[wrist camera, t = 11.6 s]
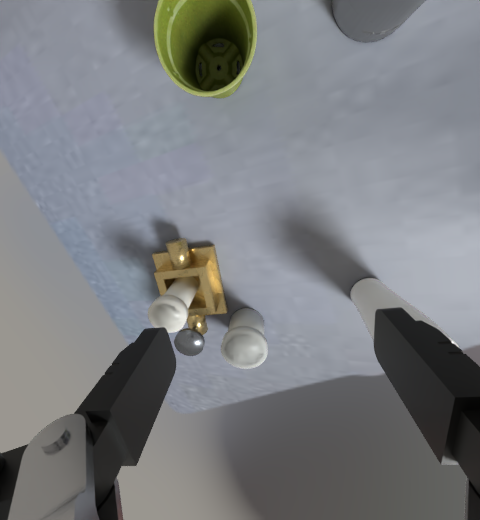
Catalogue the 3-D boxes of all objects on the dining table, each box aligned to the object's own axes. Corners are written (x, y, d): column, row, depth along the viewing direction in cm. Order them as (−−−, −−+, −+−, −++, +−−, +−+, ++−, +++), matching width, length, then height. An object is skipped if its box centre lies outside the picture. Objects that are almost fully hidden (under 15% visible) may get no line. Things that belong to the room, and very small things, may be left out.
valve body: (151, 240, 38) (126, 257, 31) (211, 232, 37) (200, 247, 30) (176, 327, 44) (160, 357, 37) (230, 322, 43) (224, 353, 36)
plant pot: (258, 112, 31) (257, 92, 23) (186, 116, 32) (161, 99, 24) (257, 18, 28) (256, -44, 20) (177, 25, 28) (144, -31, 20)
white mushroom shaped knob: (168, 273, 39) (143, 302, 31) (197, 269, 39) (180, 298, 30) (175, 299, 41) (154, 334, 33) (204, 296, 40) (189, 331, 32)
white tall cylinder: (344, 311, 40) (389, 387, 26) (344, 275, 38) (392, 337, 24) (387, 307, 39) (457, 384, 25) (389, 269, 37) (467, 331, 23)
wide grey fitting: (223, 309, 42) (215, 334, 36) (262, 302, 41) (261, 327, 34) (233, 341, 44) (227, 371, 38) (270, 336, 43) (271, 365, 37)
